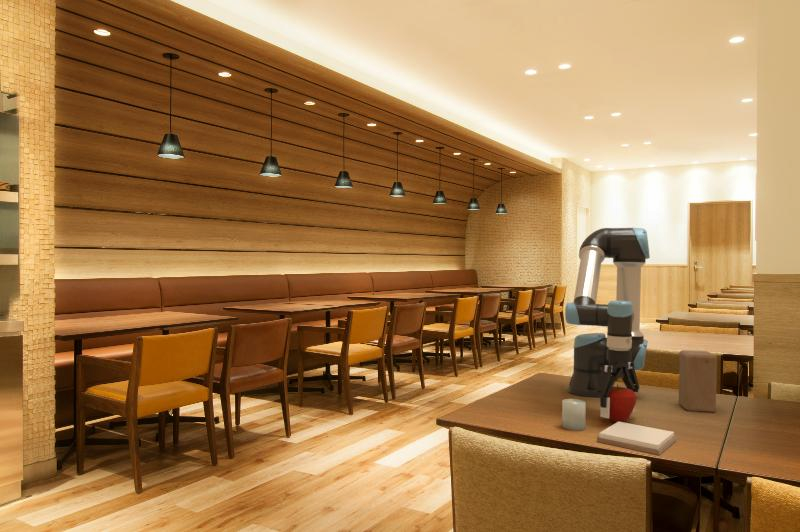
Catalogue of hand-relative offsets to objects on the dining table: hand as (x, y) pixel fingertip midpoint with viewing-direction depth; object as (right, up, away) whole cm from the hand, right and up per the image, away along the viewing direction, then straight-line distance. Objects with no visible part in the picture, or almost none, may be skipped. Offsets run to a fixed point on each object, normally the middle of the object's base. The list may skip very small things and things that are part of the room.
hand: (617, 414), depth 188 cm
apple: (0, -3, 0) cm, 3 cm away
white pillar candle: (-16, -2, -7) cm, 18 cm away
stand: (-2, -3, -20) cm, 20 cm away
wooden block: (+35, -3, +19) cm, 40 cm away
